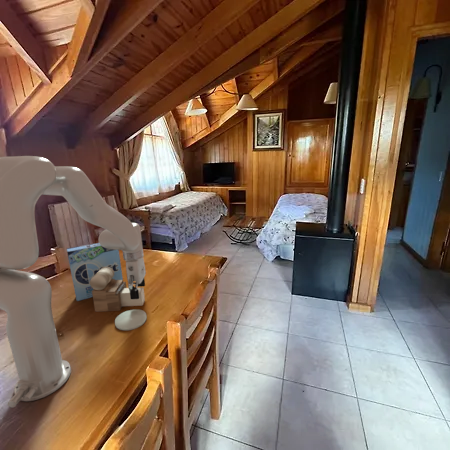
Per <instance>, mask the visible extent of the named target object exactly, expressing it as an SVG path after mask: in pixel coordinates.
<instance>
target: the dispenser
mask: <svg viewBox="0 0 450 450" xmlns="http://www.w3.org/2000/svg"><path fill="white" fill-rule="evenodd" d="M113 277H114V270H113V269H112V268H110V267H107V266H106V267H102V268H101V269H100V270H99V271H98V272H97V273H96V274H95V275H94V276H93V278H92V279H91V280H90V285H91V287H92V288H93V291H92V295H93V297H92V301H93V308H94V312H115V311H117V312H119V311H121V310H122V307H123V306H122V305H121V297H120V292H121V290H122V289H123V288H127V284H126V283H127V282H126V281H124V279H123V280H115V279H112V278H113Z"/></svg>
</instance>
